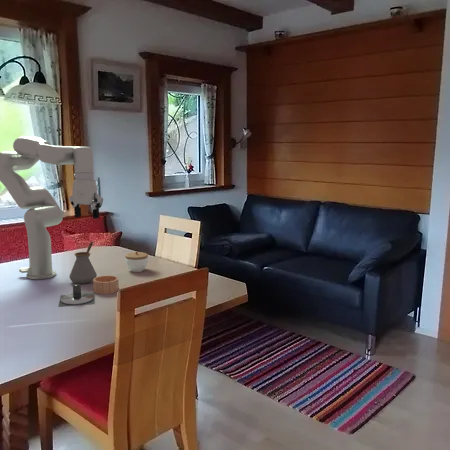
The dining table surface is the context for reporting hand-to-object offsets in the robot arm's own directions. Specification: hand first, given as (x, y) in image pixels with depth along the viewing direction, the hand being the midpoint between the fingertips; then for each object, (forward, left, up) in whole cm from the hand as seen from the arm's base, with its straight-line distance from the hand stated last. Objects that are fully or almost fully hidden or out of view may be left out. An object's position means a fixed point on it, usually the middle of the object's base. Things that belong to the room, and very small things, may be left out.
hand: (87, 217), depth 190 cm
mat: (-4, -20, -29) cm, 35 cm away
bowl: (+7, -10, -29) cm, 32 cm away
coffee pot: (-1, +9, -30) cm, 31 cm away
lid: (-4, -20, -29) cm, 35 cm away
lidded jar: (+22, +18, -30) cm, 41 cm away
